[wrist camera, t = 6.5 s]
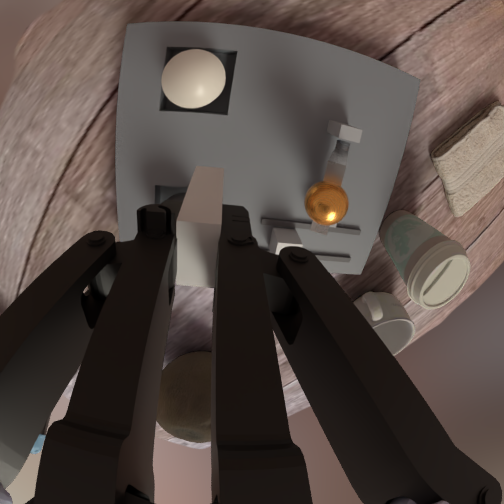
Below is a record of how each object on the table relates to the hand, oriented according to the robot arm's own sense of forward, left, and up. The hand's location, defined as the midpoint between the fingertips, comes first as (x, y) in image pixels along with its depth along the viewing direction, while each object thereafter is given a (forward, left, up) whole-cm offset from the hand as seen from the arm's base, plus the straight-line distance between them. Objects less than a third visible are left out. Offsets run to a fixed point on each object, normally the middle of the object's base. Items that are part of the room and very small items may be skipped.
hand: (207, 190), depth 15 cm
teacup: (+25, -20, -15) cm, 35 cm away
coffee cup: (+25, -7, -15) cm, 30 cm away
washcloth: (+36, +7, -15) cm, 39 cm away
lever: (+11, 0, -8) cm, 14 cm away
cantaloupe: (0, -35, -15) cm, 38 cm away
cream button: (-2, +6, -13) cm, 15 cm away
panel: (+5, 0, -14) cm, 15 cm away
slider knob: (+8, -8, -10) cm, 15 cm away
